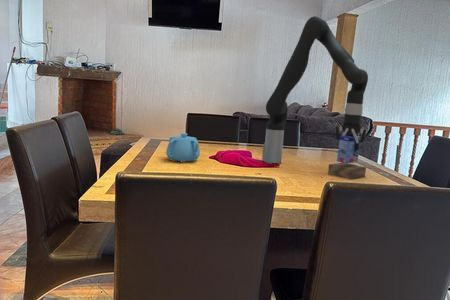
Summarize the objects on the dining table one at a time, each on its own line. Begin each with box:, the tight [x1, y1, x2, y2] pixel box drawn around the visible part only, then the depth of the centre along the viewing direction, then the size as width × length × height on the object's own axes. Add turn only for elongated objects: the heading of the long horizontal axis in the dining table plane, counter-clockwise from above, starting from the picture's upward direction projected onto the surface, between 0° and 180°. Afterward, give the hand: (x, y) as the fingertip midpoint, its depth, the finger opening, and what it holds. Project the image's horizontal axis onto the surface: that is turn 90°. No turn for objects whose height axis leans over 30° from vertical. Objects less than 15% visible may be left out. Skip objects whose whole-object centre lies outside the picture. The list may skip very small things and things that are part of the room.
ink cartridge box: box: [336, 132, 362, 164], centre depth 178 cm, size 10×6×14 cm, turn 130°
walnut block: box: [327, 162, 367, 180], centre depth 179 cm, size 12×12×5 cm
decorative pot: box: [165, 132, 201, 162], centre depth 190 cm, size 16×16×14 cm
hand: (348, 150), depth 178 cm, fingers closed on ink cartridge box, 6 cm apart
